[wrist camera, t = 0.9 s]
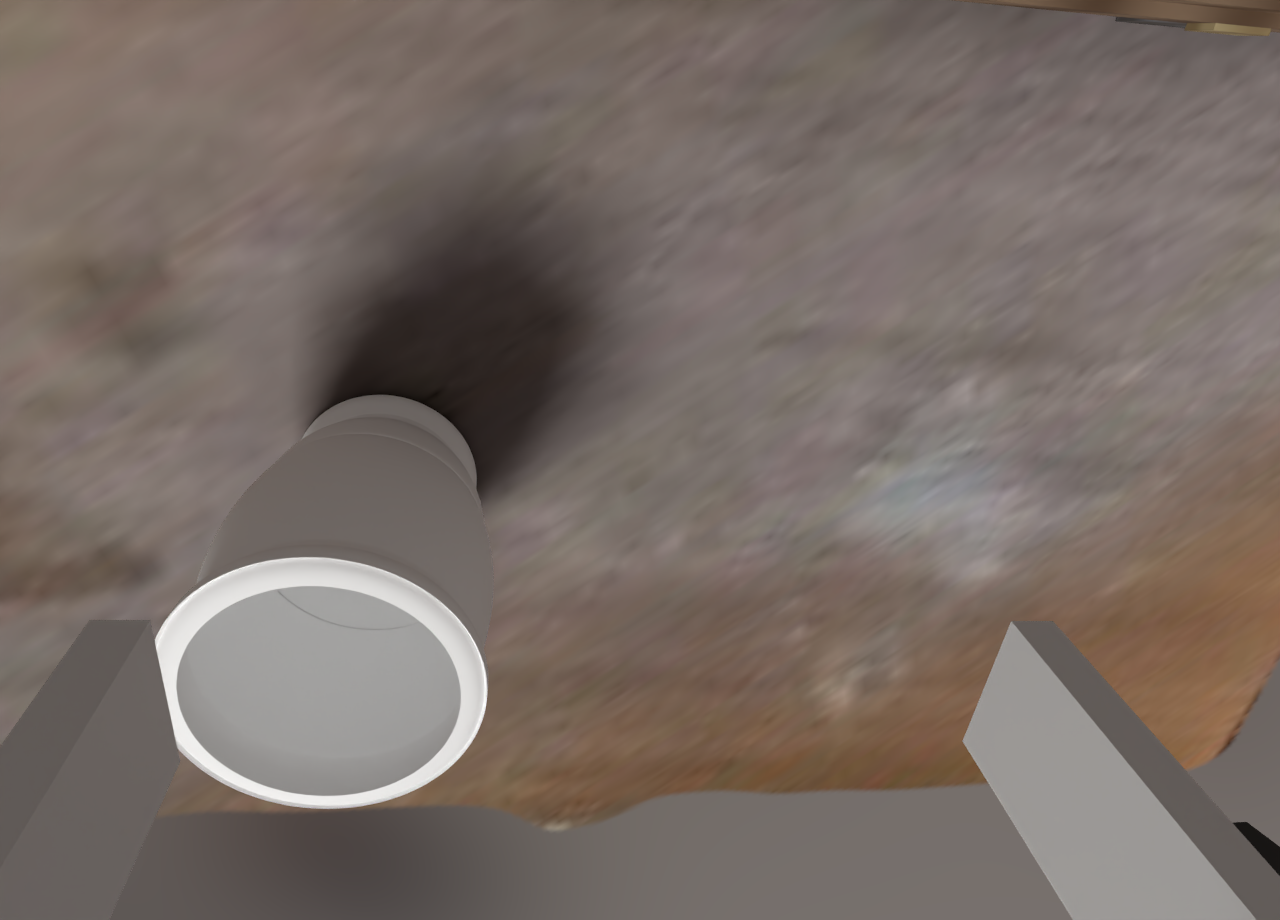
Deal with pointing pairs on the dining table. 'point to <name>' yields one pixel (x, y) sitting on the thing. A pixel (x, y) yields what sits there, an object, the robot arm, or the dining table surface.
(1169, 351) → the dining table surface
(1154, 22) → the brown long rectangular frame
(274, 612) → the jar
